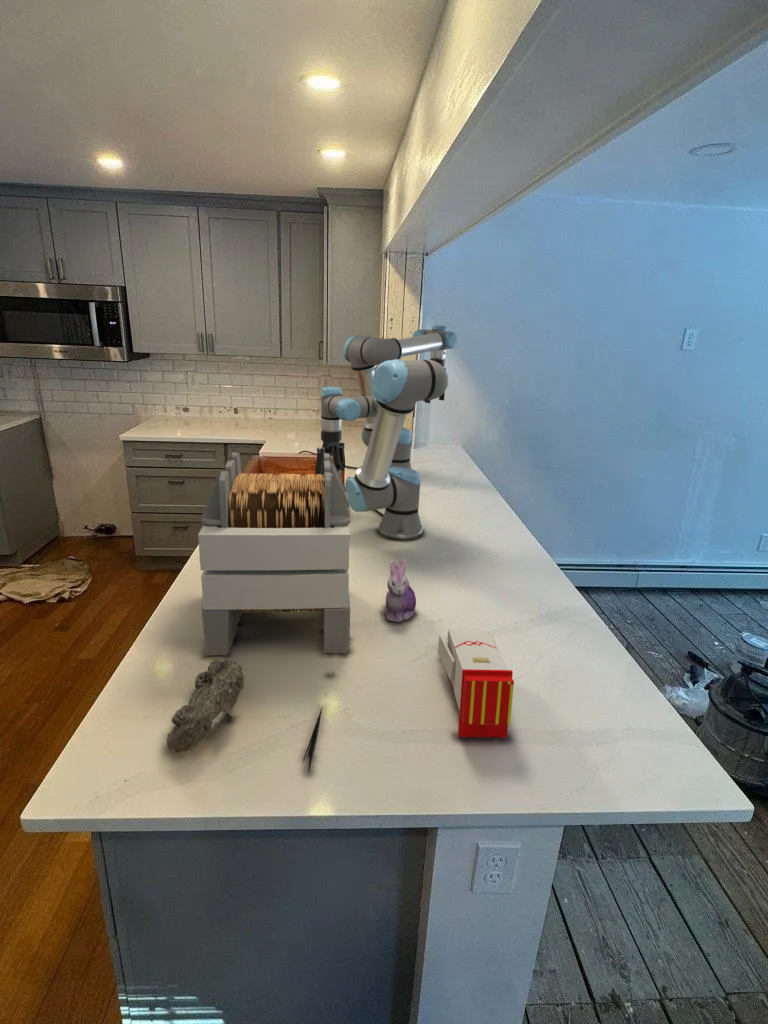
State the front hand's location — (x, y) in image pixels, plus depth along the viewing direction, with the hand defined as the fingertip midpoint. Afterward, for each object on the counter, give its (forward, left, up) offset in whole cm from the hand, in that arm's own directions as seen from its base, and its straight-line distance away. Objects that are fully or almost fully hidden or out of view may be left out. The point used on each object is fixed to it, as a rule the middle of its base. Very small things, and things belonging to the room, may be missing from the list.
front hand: (330, 488), depth 216 cm
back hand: (-34, +89, +22) cm, 98 cm away
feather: (+94, -70, -9) cm, 118 cm away
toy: (+106, -40, -9) cm, 114 cm away
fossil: (+81, -86, -9) cm, 118 cm away
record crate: (+58, -56, -9) cm, 81 cm away
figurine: (+74, -31, -9) cm, 81 cm away
